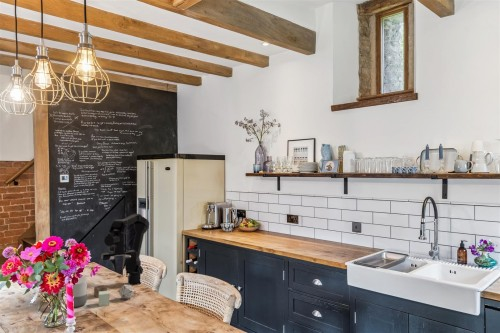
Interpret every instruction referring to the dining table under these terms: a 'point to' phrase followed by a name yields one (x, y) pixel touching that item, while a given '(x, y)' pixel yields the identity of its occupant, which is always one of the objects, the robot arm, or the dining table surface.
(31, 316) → the dining table surface
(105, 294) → the sage block
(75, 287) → the smart speaker
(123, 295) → the game die
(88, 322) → the dining table surface
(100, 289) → the walnut cube
